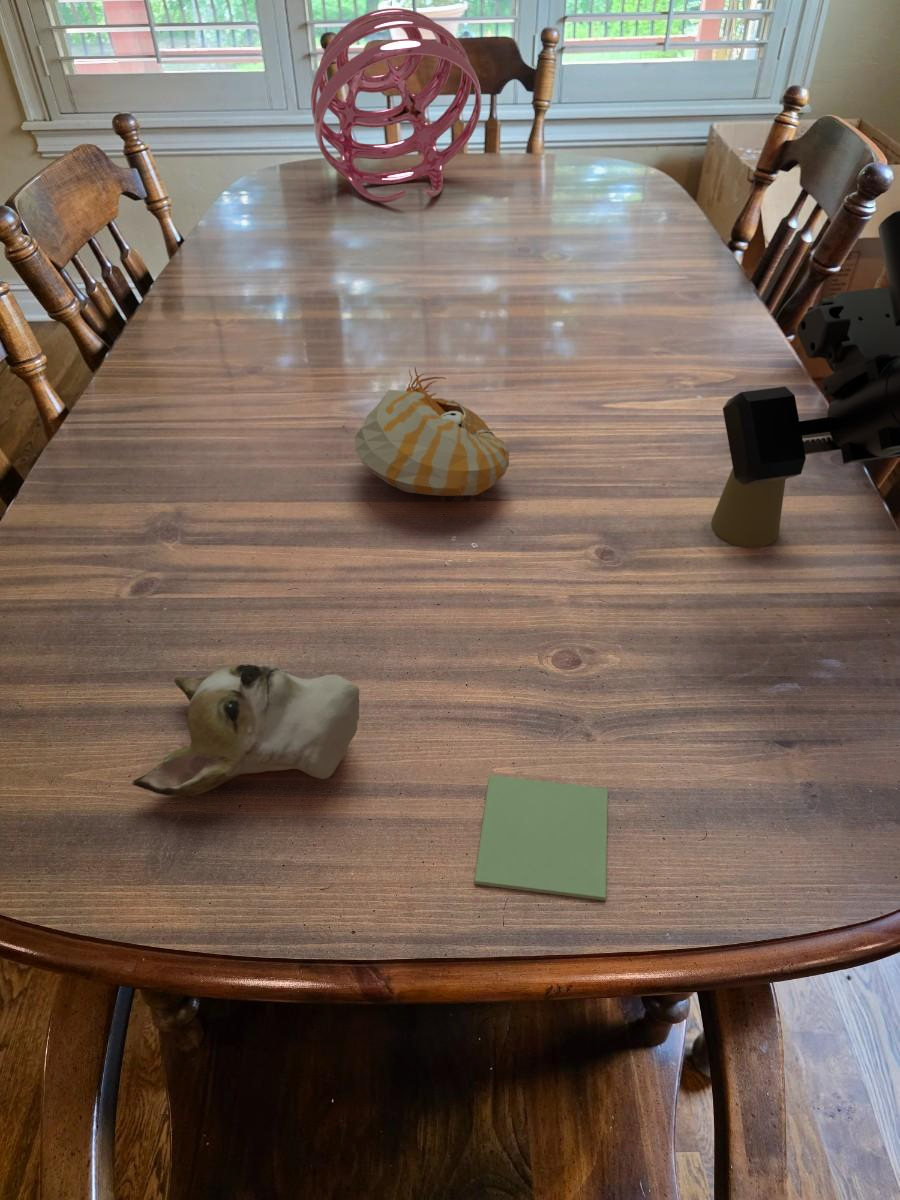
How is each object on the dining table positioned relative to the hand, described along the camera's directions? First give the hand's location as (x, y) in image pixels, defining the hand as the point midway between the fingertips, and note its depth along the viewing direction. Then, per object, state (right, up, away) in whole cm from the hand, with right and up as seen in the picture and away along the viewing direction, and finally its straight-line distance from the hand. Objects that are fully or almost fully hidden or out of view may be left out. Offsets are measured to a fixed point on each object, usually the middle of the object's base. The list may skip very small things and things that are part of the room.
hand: (795, 450), depth 70 cm
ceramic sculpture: (-41, -23, -8) cm, 48 cm away
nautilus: (-29, +2, +19) cm, 35 cm away
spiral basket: (-36, +60, +83) cm, 109 cm away
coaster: (-22, -27, -14) cm, 37 cm away
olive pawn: (-1, -5, +10) cm, 11 cm away
